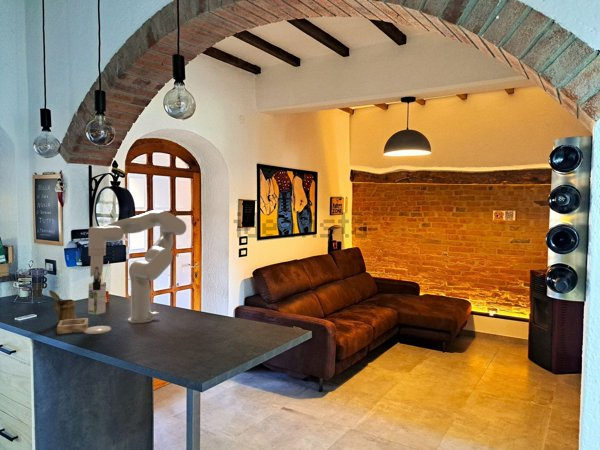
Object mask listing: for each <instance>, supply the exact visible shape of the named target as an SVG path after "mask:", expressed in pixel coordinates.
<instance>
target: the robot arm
mask: <svg viewBox="0 0 600 450" xmlns="http://www.w3.org/2000/svg"><path fill="white" fill-rule="evenodd" d="M155 227H159V232H160V233H159V234H160V235H159V238H158V240H156V242H155V243H154V244H153V245H152V246H151V247H150V248H149V249H148V250H147V251H146V253H145V254H144V260H135V261H133V262H132V263H131V264H130V265H129V268H128V275H129V281H130V317H128V318H127V322H128V323H130V324H145V323H149V322H152V321H153V320H154V317H159V316H160V312H157V311H153V312H152V311H151V284H150V282H151V281H154V280H157V279H158V278H159V277H160V276H161V275H162V273H164V272H165V270H166V269H168V267H169V266H170V265H171V264H172V262H173V259H174V257H173V254H174V253H173V252H172V248H173V247H174V236H182V235H183V234H185V233H186V232H187V224H186V223H185V221H184V220H183V219H181V218H179V217H177V216H176V215H174V214H173V213H171V212H169V211H166V210H158V209H157V210H149V211H146V212H145V213H141V214H139V215H135V216H132V217H129V218H128V217H127V218H124V219H120V220H116V221H112V222H109V223H107V224H103V225H102V226H90V227H89V228H88V256H89V257H90V267H89V268H90V270H89V271H90V277H91V278H92V277H93V281H92V283H93V290H100V283H102V278H101V276H103V269H104V256H107V255H106V254H107V242H108V241H109V242H118V241H121V240H122V239H123V238H124V235H126V234H127V235H128V234H129V235H130V234H139V233H141V232H144V231H146V230H149V229H151V228H155Z"/></svg>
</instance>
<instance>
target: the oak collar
mask: <svg viewBox="0 0 600 450" xmlns="http://www.w3.org/2000/svg"><path fill="white" fill-rule="evenodd" d="M87 328H89V317H87V318H86V317H84V318H77V319H68V320H60V322H59V324H58V323H57V326H56V334H57V335H59V334H70V333H71V334H72V332H74V333H84V330H87Z"/></svg>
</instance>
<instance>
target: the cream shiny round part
mask: <svg viewBox="0 0 600 450" xmlns="http://www.w3.org/2000/svg"><path fill="white" fill-rule="evenodd" d="M111 330H112V327H111V326H108V325H96V326H95V325H94V326H90V327H89V326H88V328H87V330H84V332H83V334H84V333H85V334H87V335H99V334H105V333H108V332H111Z"/></svg>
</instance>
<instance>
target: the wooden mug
mask: <svg viewBox="0 0 600 450" xmlns="http://www.w3.org/2000/svg"><path fill="white" fill-rule="evenodd" d="M49 295H50V296H51V297H52V299H54V300H55V302H54V312H55V313H56V314H57V316H58V317H57V322H56V324H57V325H58V324H59V322H60V320H68V319H78V318H77V314H76V308H75V306H76V303H75V300H74V299H64V300H63V299H62V300H61V298H60V296H59V295H58V293H56V292H55V291H53V290H52V289H51V290H49Z"/></svg>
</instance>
